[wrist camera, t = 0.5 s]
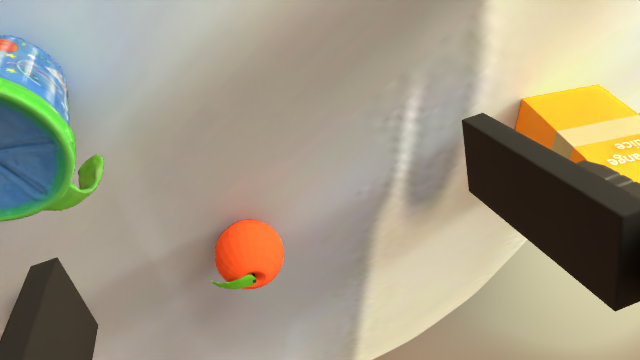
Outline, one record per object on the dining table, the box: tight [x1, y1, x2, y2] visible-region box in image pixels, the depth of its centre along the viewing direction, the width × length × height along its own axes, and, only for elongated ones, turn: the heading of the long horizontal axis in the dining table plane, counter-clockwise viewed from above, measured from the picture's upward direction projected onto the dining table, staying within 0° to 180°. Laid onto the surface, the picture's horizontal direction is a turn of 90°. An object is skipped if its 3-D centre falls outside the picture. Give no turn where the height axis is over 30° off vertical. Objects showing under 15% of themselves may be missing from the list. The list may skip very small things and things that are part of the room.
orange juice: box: [515, 84, 640, 183], centre depth 47 cm, size 8×9×20 cm
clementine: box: [208, 220, 284, 289], centre depth 51 cm, size 8×7×7 cm
